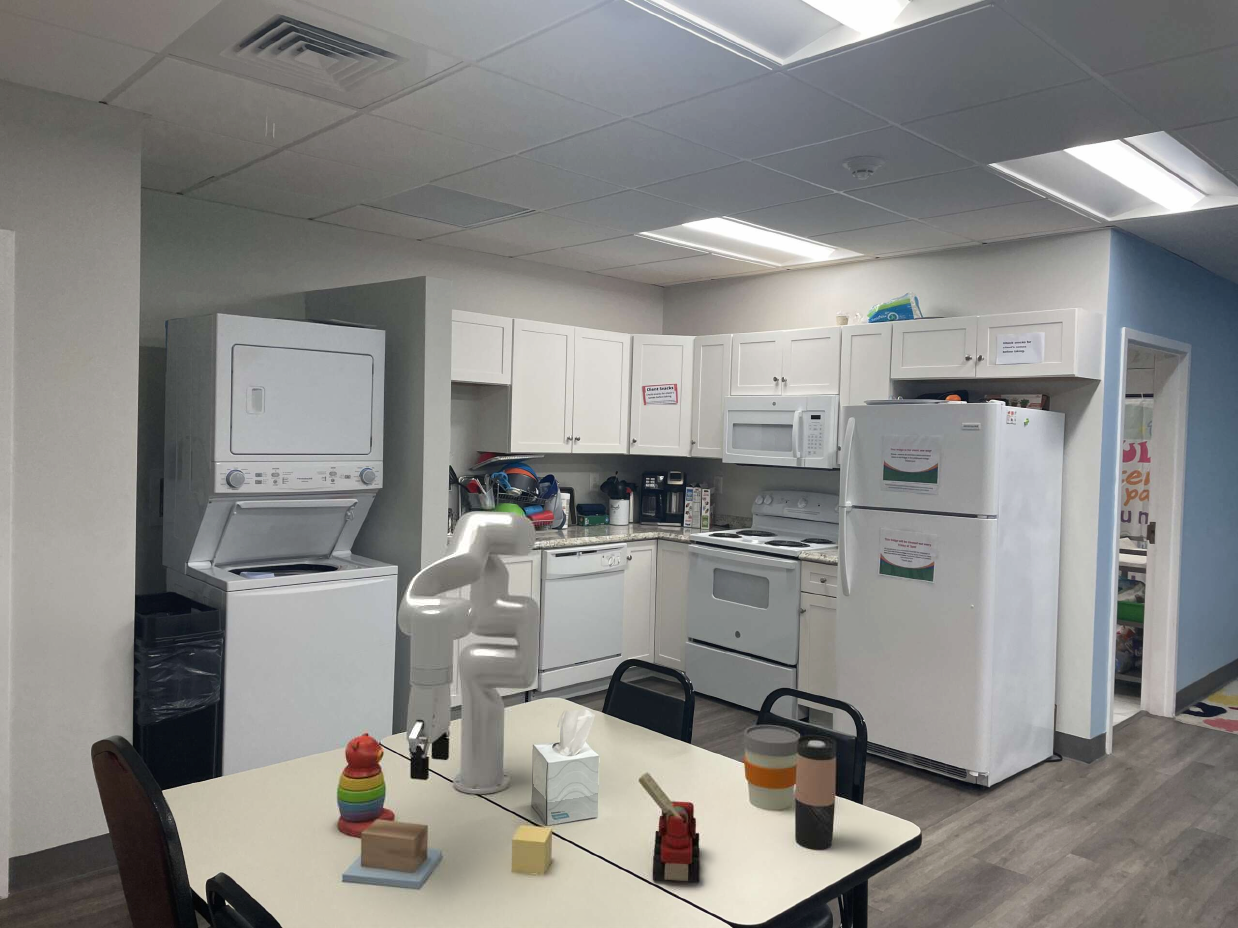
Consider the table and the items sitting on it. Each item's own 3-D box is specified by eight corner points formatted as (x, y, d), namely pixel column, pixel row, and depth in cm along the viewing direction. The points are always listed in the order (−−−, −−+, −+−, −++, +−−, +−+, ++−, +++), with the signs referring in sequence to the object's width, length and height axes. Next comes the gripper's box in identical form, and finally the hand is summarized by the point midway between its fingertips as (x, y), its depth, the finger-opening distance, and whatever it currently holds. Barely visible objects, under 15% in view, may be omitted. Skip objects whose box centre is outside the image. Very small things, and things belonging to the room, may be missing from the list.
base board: (370, 849, 170) (370, 843, 170) (442, 856, 168) (442, 850, 168) (342, 880, 158) (342, 874, 158) (419, 888, 156) (419, 881, 156)
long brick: (376, 850, 167) (377, 818, 167) (427, 857, 165) (427, 825, 165) (360, 865, 161) (361, 832, 161) (413, 872, 159) (413, 839, 159)
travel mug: (835, 836, 181) (838, 737, 180) (831, 853, 173) (834, 750, 173) (796, 830, 183) (799, 732, 182) (791, 846, 176) (794, 744, 175)
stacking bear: (373, 839, 174) (375, 748, 174) (325, 833, 176) (326, 743, 176) (398, 816, 185) (399, 730, 184) (352, 811, 187) (353, 725, 186)
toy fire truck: (699, 848, 174) (701, 757, 174) (699, 888, 159) (702, 789, 158) (640, 844, 175) (642, 754, 175) (634, 884, 160) (637, 785, 159)
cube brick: (520, 856, 169) (520, 824, 169) (551, 859, 168) (552, 827, 168) (511, 871, 163) (512, 839, 163) (544, 875, 162) (544, 842, 162)
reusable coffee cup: (774, 818, 188) (776, 747, 188) (729, 799, 198) (731, 731, 197) (811, 803, 196) (813, 735, 196) (766, 785, 206) (768, 720, 205)
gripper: (430, 661, 172) (428, 750, 172) (391, 686, 155) (390, 785, 155) (467, 663, 170) (466, 753, 171) (433, 689, 153) (431, 789, 154)
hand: (430, 768), depth 163 cm, fingers open, 9 cm apart
